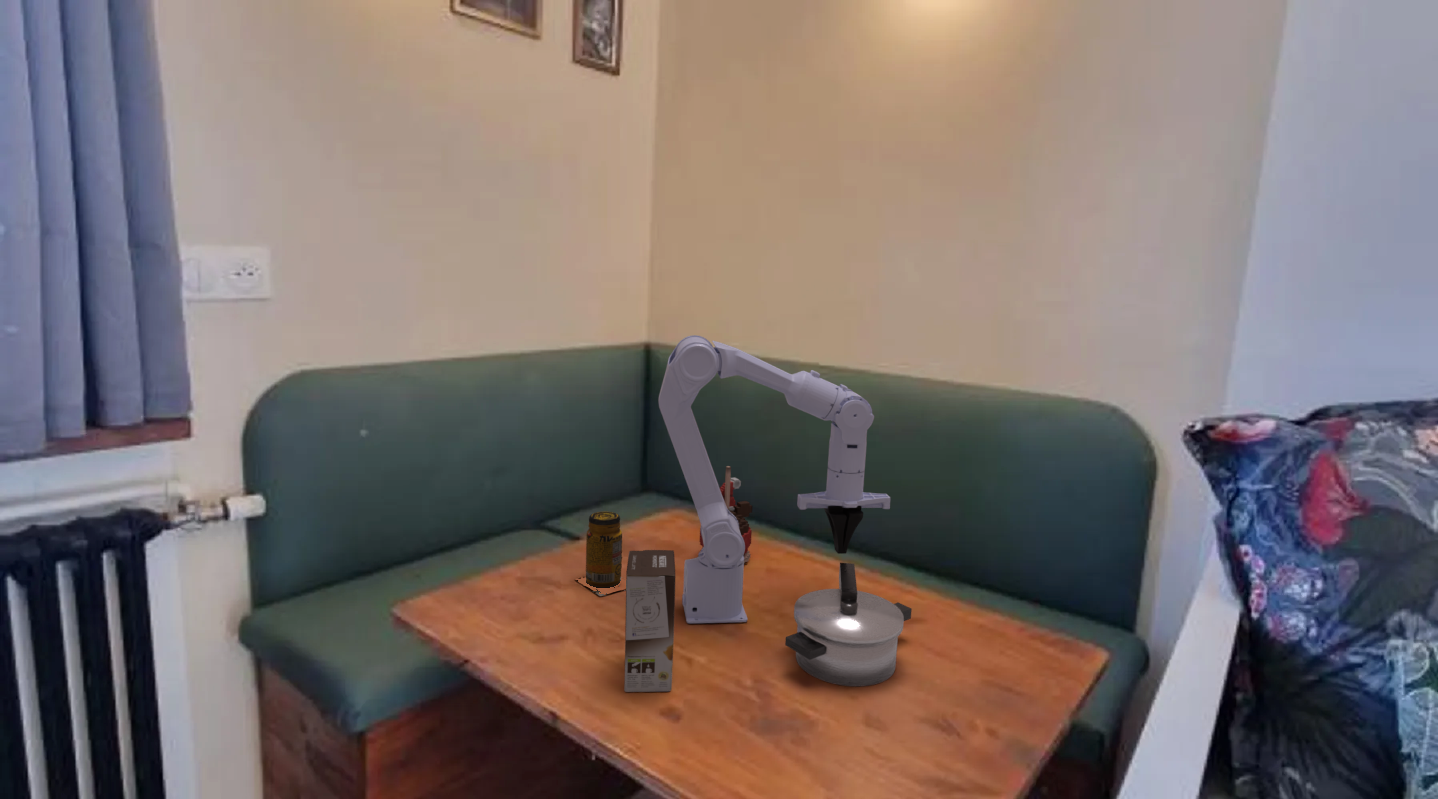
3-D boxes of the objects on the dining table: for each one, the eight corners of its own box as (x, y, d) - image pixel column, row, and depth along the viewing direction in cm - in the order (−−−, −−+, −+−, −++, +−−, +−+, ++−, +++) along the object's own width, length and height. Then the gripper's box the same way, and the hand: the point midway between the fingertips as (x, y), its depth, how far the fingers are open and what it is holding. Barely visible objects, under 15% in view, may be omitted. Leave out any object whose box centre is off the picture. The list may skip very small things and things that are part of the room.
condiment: (610, 571, 140) (611, 506, 138) (637, 587, 134) (638, 520, 132) (574, 580, 136) (574, 514, 134) (599, 598, 129) (600, 528, 127)
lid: (908, 650, 103) (910, 625, 102) (791, 639, 105) (793, 614, 104) (895, 589, 122) (896, 567, 121) (796, 580, 124) (797, 558, 123)
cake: (713, 573, 141) (717, 476, 138) (687, 556, 149) (690, 463, 145) (762, 563, 146) (766, 469, 143) (734, 546, 154) (738, 457, 151)
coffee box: (673, 692, 102) (676, 576, 99) (623, 693, 102) (625, 575, 99) (671, 657, 111) (674, 549, 108) (625, 657, 111) (627, 548, 108)
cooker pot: (833, 703, 101) (836, 660, 100) (761, 658, 112) (763, 618, 111) (940, 656, 114) (943, 617, 113) (867, 619, 125) (870, 583, 124)
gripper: (807, 475, 118) (801, 561, 120) (899, 475, 120) (892, 560, 122) (796, 463, 125) (791, 544, 127) (884, 463, 127) (877, 543, 129)
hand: (840, 551), depth 125 cm, fingers closed
